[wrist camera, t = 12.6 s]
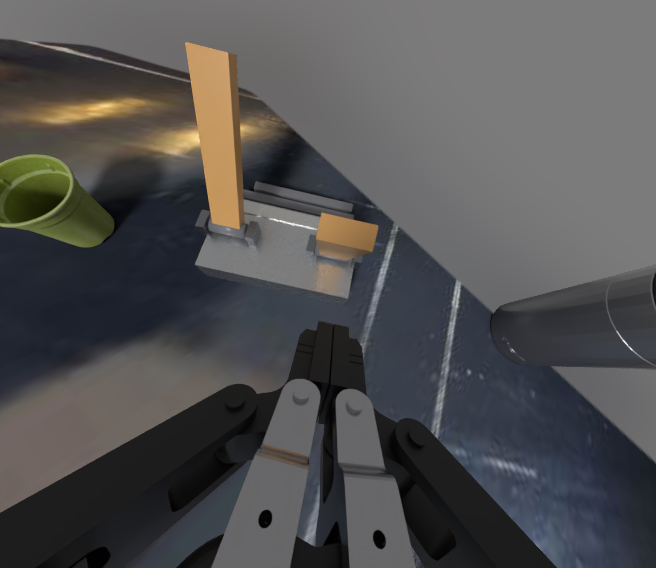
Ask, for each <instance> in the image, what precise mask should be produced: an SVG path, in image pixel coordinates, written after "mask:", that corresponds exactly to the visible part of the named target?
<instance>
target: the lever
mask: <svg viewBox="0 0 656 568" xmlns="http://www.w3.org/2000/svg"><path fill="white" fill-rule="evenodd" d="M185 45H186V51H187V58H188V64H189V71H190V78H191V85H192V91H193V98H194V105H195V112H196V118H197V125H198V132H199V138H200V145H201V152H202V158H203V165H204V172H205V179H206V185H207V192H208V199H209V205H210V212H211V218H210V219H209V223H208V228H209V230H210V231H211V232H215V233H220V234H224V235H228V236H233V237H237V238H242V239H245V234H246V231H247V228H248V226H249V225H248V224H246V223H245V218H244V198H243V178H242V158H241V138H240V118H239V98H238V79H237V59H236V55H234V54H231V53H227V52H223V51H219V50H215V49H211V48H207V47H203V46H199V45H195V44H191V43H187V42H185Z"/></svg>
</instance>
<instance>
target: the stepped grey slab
mask: <svg viewBox="0 0 656 568" xmlns="http://www.w3.org/2000/svg"><path fill="white" fill-rule="evenodd" d="M254 191H255V192H253V191H249V190H244V189H243V198H244V200H249V201H253V202H257V203H262V204H266V205H270V206H275V207H279V208H283V209H288V210H292V211H296V212H301V213H305V214H309V215H314V216H318V217H321V213H326V214H330V215H335V216H339V217H343V218H348V219H352V220H353V219H354V215H352V214H351V212H352V208H353V204H351V203H347V202H342V201H338V200H334V199H329V198H325V197H321V196H317V195H312V194H308V193H304V192H299V191H295V190H291V189H287V188H282V187H278V186H274V185H270V184H265V183H261V182H257V181H256V183H255V186H254Z"/></svg>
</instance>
